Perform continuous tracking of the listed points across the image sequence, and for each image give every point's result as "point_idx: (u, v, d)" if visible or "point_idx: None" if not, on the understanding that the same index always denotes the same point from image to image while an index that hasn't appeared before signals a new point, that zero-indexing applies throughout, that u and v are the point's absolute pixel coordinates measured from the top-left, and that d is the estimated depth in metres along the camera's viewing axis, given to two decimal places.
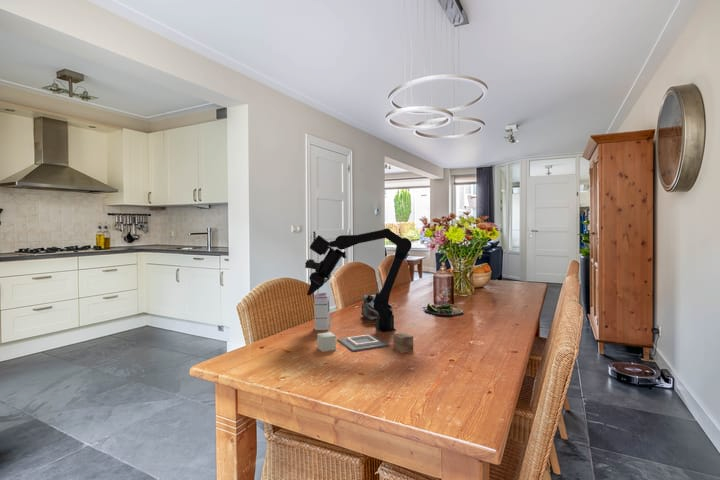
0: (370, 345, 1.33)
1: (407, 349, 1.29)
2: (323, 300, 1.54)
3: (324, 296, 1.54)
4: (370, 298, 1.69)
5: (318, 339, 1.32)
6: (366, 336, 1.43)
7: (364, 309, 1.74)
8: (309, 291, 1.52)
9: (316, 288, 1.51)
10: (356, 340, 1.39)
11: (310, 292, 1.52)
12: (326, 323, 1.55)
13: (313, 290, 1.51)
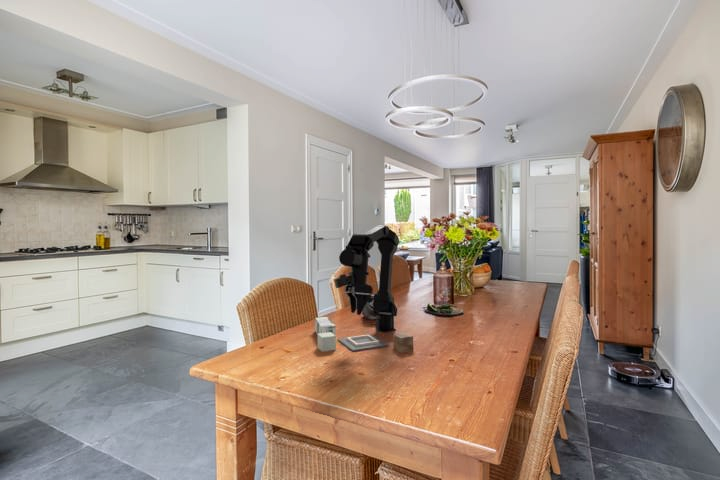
0: (370, 345, 1.33)
1: (407, 349, 1.29)
2: None
3: None
4: (371, 298, 1.69)
5: (318, 339, 1.32)
6: (366, 336, 1.43)
7: (365, 309, 1.74)
8: (358, 309, 1.26)
9: (365, 301, 1.26)
10: (356, 340, 1.39)
11: (360, 310, 1.26)
12: None
13: (362, 305, 1.26)
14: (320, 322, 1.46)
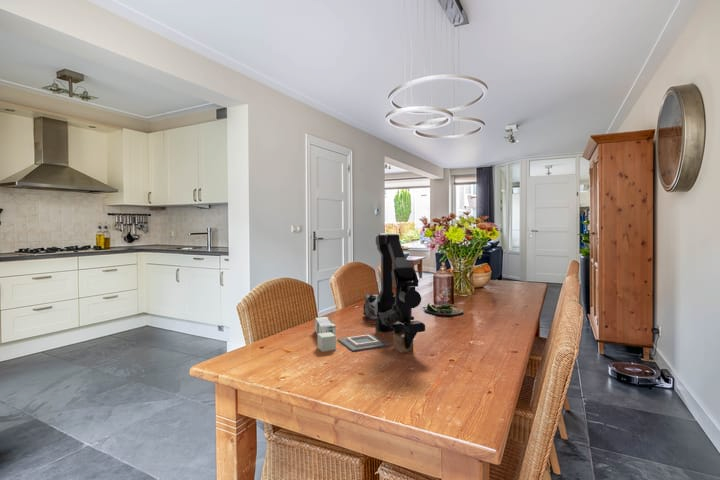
0: (370, 345, 1.33)
1: (407, 349, 1.29)
2: None
3: None
4: (372, 298, 1.69)
5: (318, 339, 1.32)
6: (366, 336, 1.43)
7: (366, 309, 1.74)
8: (407, 344, 1.28)
9: (413, 335, 1.28)
10: (356, 340, 1.39)
11: (409, 344, 1.28)
12: None
13: (411, 339, 1.28)
14: (320, 322, 1.46)
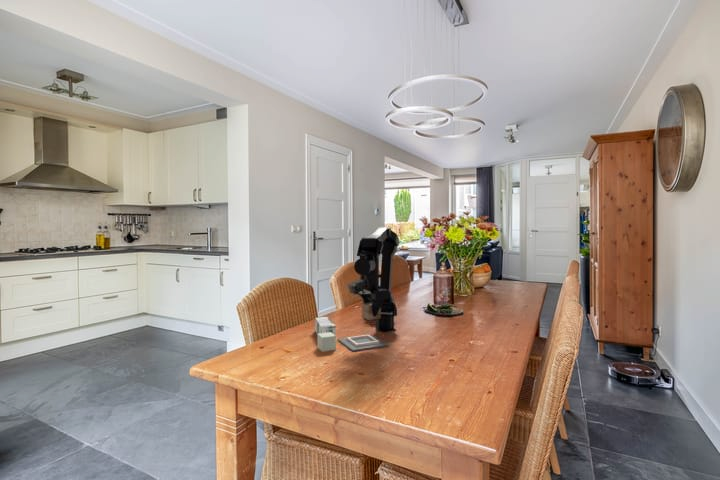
0: (370, 345, 1.33)
1: (374, 317, 1.34)
2: None
3: None
4: None
5: (318, 339, 1.32)
6: (366, 336, 1.43)
7: None
8: (375, 311, 1.33)
9: (380, 303, 1.33)
10: (356, 340, 1.39)
11: (376, 311, 1.33)
12: None
13: (378, 307, 1.33)
14: (320, 322, 1.46)
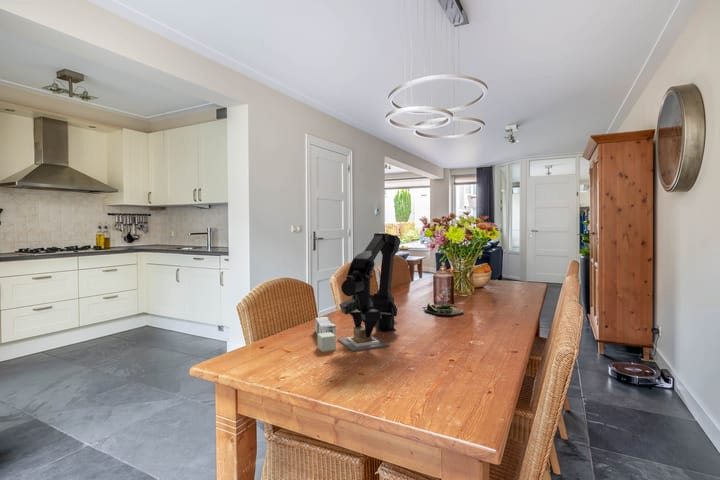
0: (370, 345, 1.33)
1: (365, 341, 1.36)
2: None
3: None
4: None
5: (318, 339, 1.32)
6: None
7: None
8: (368, 332, 1.33)
9: (373, 324, 1.33)
10: None
11: (369, 332, 1.33)
12: None
13: (371, 328, 1.33)
14: (320, 322, 1.46)
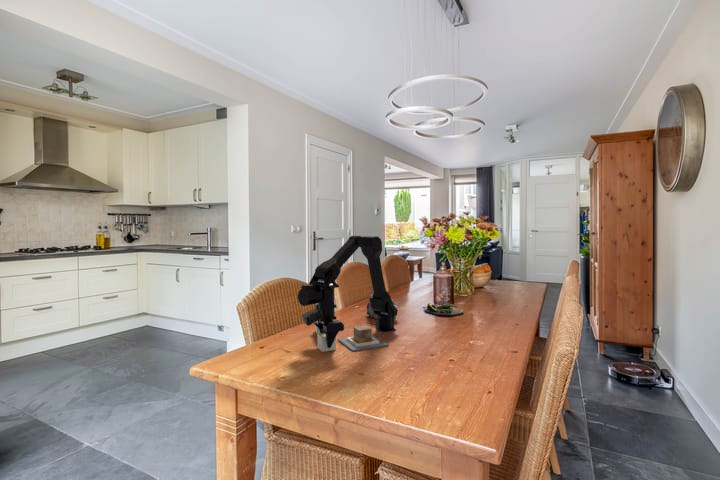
0: (370, 345, 1.33)
1: (365, 341, 1.36)
2: None
3: None
4: None
5: (318, 339, 1.32)
6: None
7: (370, 309, 1.75)
8: (329, 343, 1.29)
9: (334, 335, 1.29)
10: None
11: (330, 343, 1.29)
12: None
13: (332, 339, 1.29)
14: None
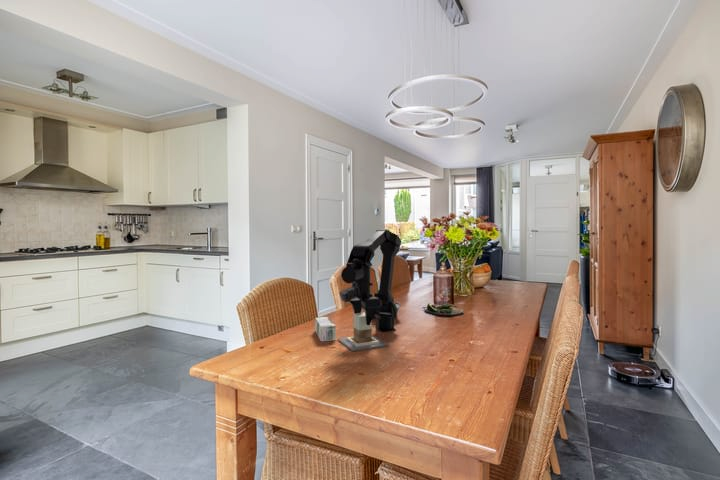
0: (370, 345, 1.33)
1: (365, 341, 1.36)
2: None
3: None
4: None
5: (354, 318, 1.38)
6: None
7: None
8: (368, 320, 1.33)
9: (374, 312, 1.33)
10: None
11: (369, 320, 1.33)
12: None
13: (371, 316, 1.33)
14: (320, 322, 1.46)
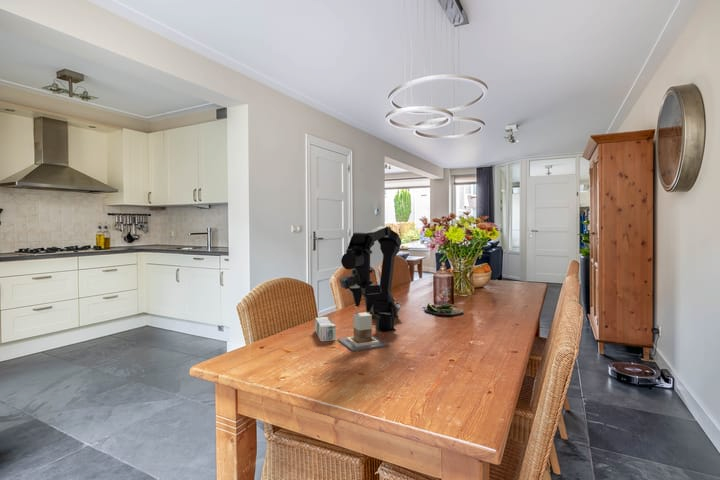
0: (370, 345, 1.33)
1: (365, 341, 1.36)
2: None
3: None
4: None
5: (354, 318, 1.38)
6: None
7: None
8: (368, 307, 1.32)
9: (373, 299, 1.32)
10: None
11: (369, 307, 1.33)
12: None
13: (371, 303, 1.33)
14: (320, 322, 1.46)
